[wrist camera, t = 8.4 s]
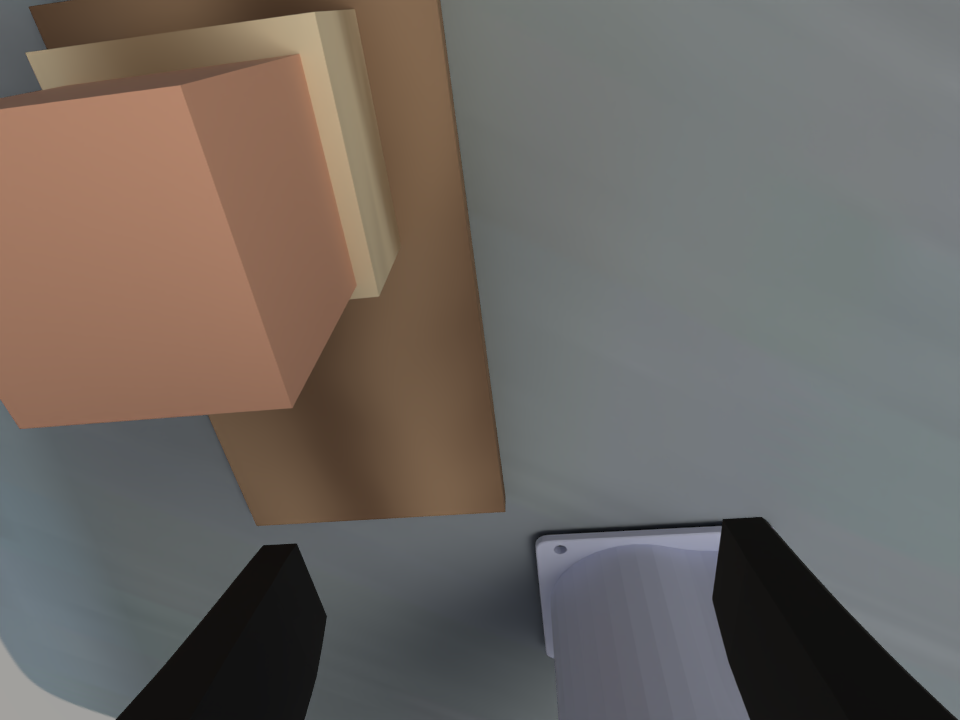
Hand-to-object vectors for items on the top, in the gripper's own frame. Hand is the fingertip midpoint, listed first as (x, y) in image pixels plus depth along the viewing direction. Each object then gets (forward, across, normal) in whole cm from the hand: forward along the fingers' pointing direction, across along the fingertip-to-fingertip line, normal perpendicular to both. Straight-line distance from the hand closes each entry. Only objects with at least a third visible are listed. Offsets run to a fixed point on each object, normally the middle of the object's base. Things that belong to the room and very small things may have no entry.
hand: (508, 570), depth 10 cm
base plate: (+10, +6, 0) cm, 12 cm away
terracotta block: (+6, +6, -5) cm, 10 cm away
